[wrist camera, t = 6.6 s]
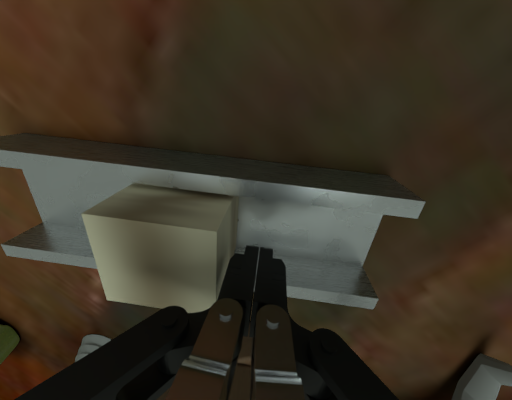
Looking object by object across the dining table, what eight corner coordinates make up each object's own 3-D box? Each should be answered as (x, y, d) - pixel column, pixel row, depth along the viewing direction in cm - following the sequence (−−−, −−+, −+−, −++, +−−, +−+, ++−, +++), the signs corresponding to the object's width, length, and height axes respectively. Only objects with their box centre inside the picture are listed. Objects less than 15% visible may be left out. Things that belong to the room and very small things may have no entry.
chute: (389, 175, 14) (425, 201, 11) (354, 266, 18) (373, 309, 14) (23, 133, 16) (-52, 143, 12) (57, 225, 19) (6, 255, 16)
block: (240, 181, 14) (216, 231, 9) (235, 246, 17) (215, 316, 11) (153, 171, 15) (80, 213, 9) (161, 236, 17) (107, 300, 12)
